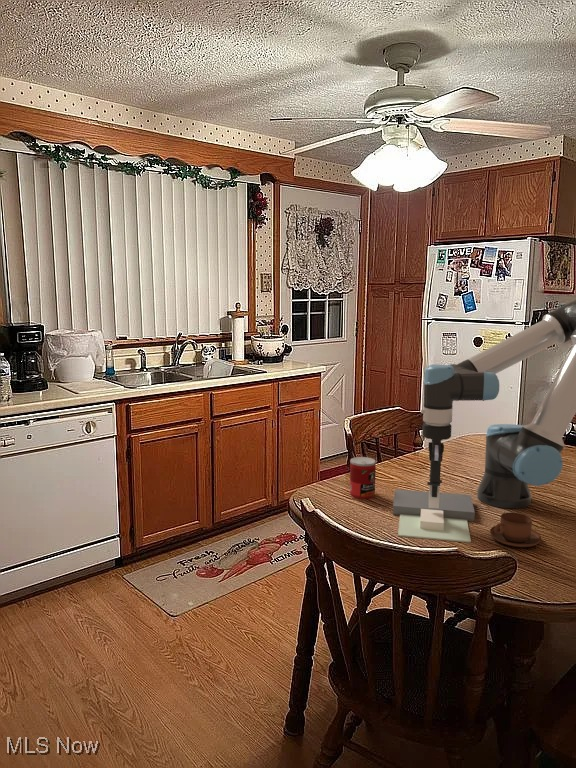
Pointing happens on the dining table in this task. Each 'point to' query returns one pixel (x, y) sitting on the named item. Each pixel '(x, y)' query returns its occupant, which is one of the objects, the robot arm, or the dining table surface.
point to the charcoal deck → (448, 503)
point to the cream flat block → (432, 519)
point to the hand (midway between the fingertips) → (433, 506)
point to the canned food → (362, 477)
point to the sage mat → (451, 532)
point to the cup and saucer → (515, 531)
